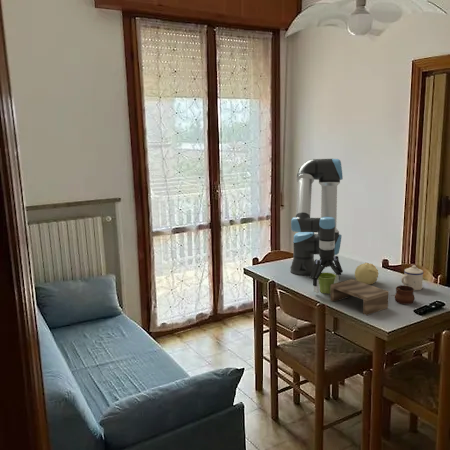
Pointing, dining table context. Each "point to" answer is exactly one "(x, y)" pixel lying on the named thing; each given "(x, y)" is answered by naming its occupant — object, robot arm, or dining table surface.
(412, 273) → the teacup with lid
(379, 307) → the walnut shelf
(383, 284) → the dining table surface
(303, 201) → the robot arm
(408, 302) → the ceramic pot
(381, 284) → the dining table surface
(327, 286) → the plant pot
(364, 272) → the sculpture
